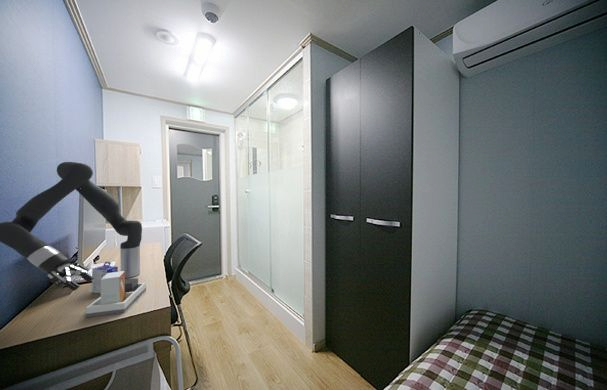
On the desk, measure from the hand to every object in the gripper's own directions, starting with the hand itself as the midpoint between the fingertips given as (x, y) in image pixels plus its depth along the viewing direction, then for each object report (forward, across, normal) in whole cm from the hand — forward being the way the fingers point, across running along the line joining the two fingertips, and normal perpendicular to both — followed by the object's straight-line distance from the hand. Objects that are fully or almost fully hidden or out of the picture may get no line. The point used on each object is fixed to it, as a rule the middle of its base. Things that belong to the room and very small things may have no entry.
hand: (84, 284), depth 89 cm
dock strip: (+15, +5, +1) cm, 16 cm away
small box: (+14, 0, 0) cm, 14 cm away
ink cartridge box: (+6, +20, +10) cm, 23 cm away
